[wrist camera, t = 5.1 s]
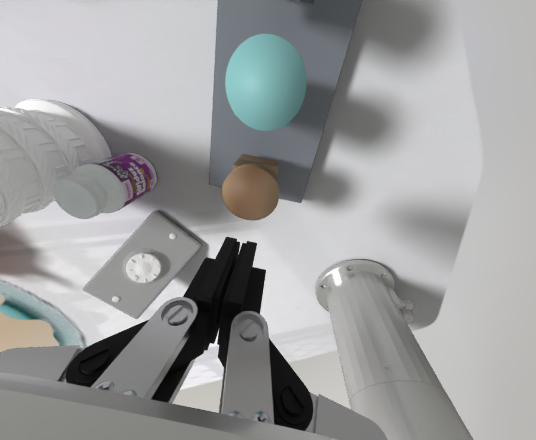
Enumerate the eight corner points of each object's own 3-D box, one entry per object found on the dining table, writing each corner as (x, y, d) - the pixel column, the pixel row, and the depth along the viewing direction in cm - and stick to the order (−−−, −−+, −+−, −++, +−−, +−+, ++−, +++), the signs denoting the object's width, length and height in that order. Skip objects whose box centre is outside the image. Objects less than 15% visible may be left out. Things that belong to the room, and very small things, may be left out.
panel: (370, -42, 17) (413, -115, 11) (300, 198, 28) (304, 221, 22) (227, -78, 17) (199, -171, 11) (212, 180, 27) (194, 199, 22)
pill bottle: (166, 182, 28) (116, 215, 20) (137, 196, 29) (78, 232, 21) (140, 144, 26) (70, 163, 17) (109, 161, 27) (31, 186, 19)
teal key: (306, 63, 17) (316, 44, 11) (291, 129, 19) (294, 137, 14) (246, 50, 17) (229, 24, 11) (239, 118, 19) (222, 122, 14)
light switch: (201, 247, 31) (134, 324, 30) (202, 238, 37) (146, 302, 35) (152, 210, 28) (76, 293, 27) (161, 207, 34) (99, 275, 33)
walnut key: (284, 157, 22) (284, 173, 17) (274, 199, 24) (272, 224, 19) (238, 147, 22) (224, 161, 17) (233, 191, 24) (220, 214, 19)
